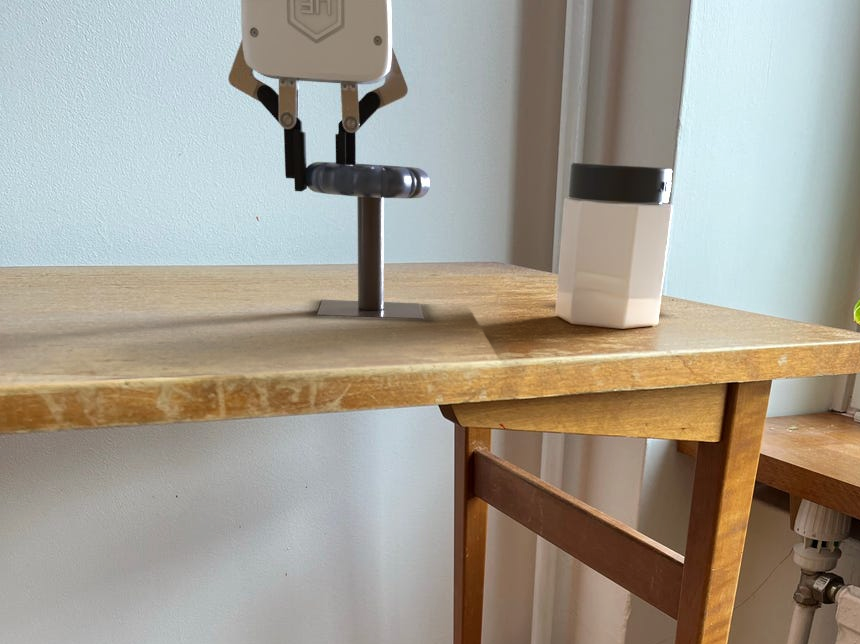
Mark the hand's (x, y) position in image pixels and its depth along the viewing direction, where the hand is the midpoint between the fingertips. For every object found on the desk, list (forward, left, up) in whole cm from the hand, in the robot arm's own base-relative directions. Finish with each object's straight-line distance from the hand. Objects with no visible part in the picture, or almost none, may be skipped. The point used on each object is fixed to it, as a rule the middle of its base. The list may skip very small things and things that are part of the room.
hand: (321, 189), depth 73 cm
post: (+4, 0, -9) cm, 10 cm away
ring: (+3, 0, +1) cm, 4 cm away
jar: (+24, +5, -10) cm, 26 cm away
